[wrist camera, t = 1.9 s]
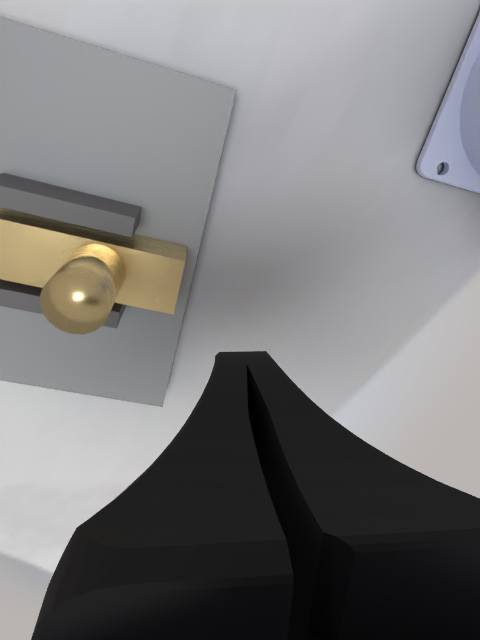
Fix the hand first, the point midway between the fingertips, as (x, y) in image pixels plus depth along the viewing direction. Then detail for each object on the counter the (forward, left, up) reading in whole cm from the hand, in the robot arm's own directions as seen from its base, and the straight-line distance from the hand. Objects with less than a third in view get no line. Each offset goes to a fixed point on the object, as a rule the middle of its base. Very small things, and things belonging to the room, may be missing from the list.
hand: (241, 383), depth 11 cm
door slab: (+7, 0, -9) cm, 11 cm away
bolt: (+5, 0, -7) cm, 9 cm away
